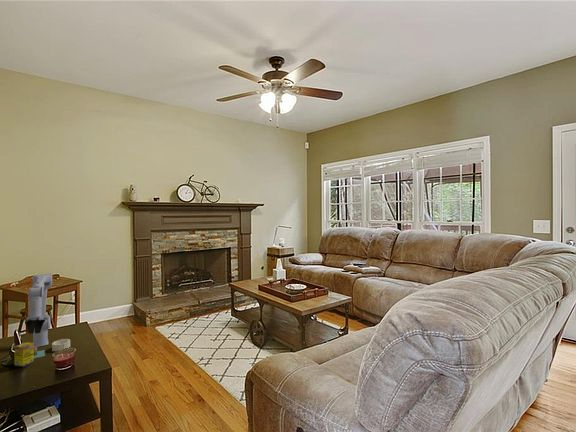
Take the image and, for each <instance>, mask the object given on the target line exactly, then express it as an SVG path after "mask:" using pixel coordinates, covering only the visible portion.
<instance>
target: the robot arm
mask: <svg viewBox="0 0 576 432" xmlns="http://www.w3.org/2000/svg"><path fill="white" fill-rule="evenodd" d="M52 285H53V274H52V273H42V274H33V276H32V285H31V286H32V287H30V288H29V289H28V292H27V293H28V294H27V295H28V303H29V304H28V309H29V310H28V317H25V319H26V321H24V325H25V327H26V329H27V333H28V334H29V335H30V334H32V335H33V337H32V343H34V347H37V348H39V347H43V346H48V345H49V344H50V343H49V338H48V337H49V336H48V335H49V333H48V330H49V329H51V324H52V323H51V316H50V315H49V314H47V313H46V311H47V310H46V309H47V298H48V297H47V295H48V290H49V289H50V288H51V287H52Z"/></svg>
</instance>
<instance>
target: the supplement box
mask: <svg viewBox="0 0 576 432" xmlns="http://www.w3.org/2000/svg"><path fill="white" fill-rule="evenodd" d="M34 359H35V358H34V343H33V342H27V341H25V342H23V343H20V344H18V345H15V346H14V365H13V366H14V367H17V368H25V367H26V366H29V365H31V364H34Z"/></svg>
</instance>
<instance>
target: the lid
mask: <svg viewBox="0 0 576 432" xmlns="http://www.w3.org/2000/svg"><path fill="white" fill-rule="evenodd" d="M45 356H46V350H45V349H42V350H38V347H34V359H39V358H42V357H45Z"/></svg>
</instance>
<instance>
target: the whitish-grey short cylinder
mask: <svg viewBox="0 0 576 432" xmlns="http://www.w3.org/2000/svg"><path fill="white" fill-rule="evenodd" d="M69 347H70V348H71V339H70V338H61V339H57V340H55V341H53V342H52V343H51V352H54V351H57V350H61V349H65V348H69ZM70 348H69V349H70Z"/></svg>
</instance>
